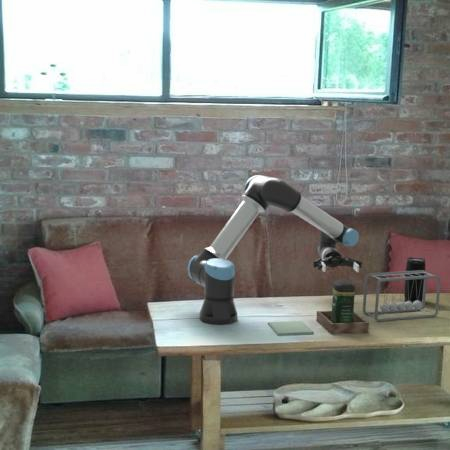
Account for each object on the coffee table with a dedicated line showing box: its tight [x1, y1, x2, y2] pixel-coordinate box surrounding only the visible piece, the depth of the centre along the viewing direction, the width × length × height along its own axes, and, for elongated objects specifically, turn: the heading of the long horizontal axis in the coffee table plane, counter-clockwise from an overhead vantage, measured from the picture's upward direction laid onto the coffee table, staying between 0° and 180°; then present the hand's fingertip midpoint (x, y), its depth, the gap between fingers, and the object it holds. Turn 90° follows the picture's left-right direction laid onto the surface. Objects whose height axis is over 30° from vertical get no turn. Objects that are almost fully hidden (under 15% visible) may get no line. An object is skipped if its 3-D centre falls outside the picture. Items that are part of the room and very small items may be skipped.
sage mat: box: [267, 320, 314, 336], centre depth 267 cm, size 14×14×1 cm
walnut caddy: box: [315, 310, 370, 335], centre depth 272 cm, size 15×17×4 cm
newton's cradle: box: [362, 270, 441, 323], centre depth 287 cm, size 30×10×18 cm, turn 109°
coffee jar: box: [331, 278, 356, 323], centre depth 270 cm, size 10×8×19 cm
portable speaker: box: [403, 256, 426, 303], centre depth 310 cm, size 9×9×20 cm
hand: (341, 268), depth 282 cm, fingers open, 13 cm apart
